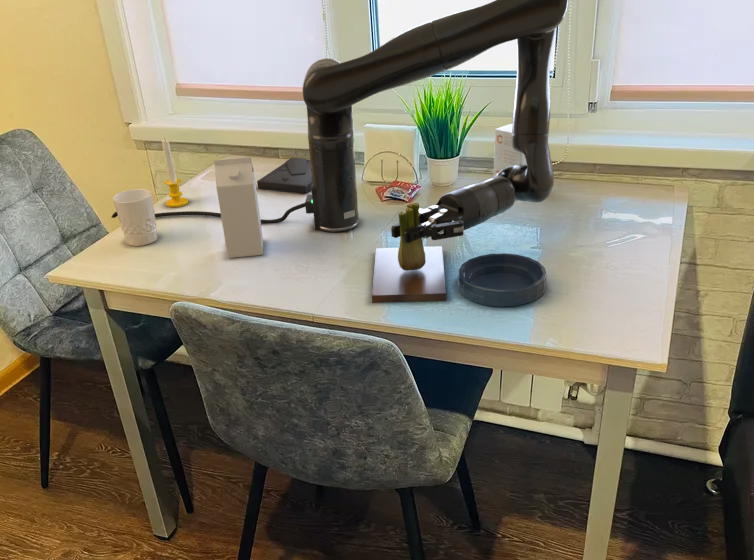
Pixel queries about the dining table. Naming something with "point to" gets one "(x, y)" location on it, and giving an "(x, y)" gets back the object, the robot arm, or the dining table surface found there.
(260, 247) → the milk carton
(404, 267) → the fennel bulb
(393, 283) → the board
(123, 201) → the white cup
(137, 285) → the dining table surface
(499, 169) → the small box
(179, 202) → the candle
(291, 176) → the picture frame
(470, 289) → the bowl
